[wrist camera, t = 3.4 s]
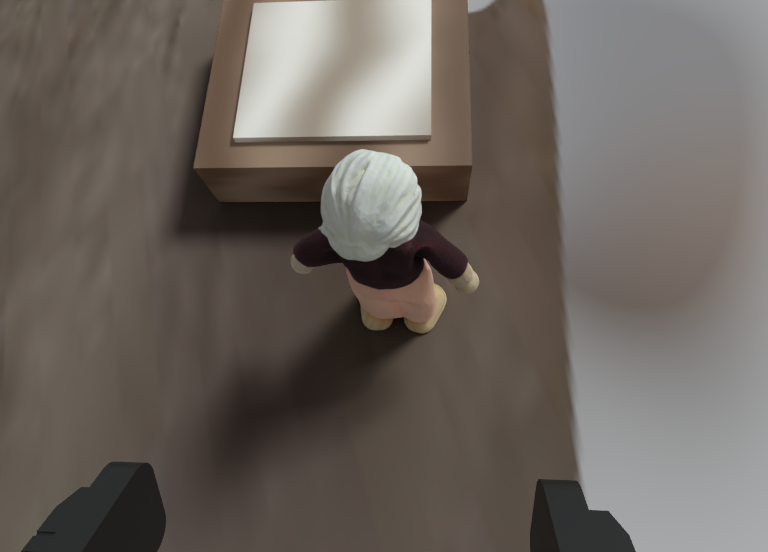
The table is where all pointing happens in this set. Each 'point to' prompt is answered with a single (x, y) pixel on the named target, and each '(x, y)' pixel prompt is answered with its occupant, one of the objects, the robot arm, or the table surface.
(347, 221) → the grandmother figurine
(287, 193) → the stand
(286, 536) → the table surface
